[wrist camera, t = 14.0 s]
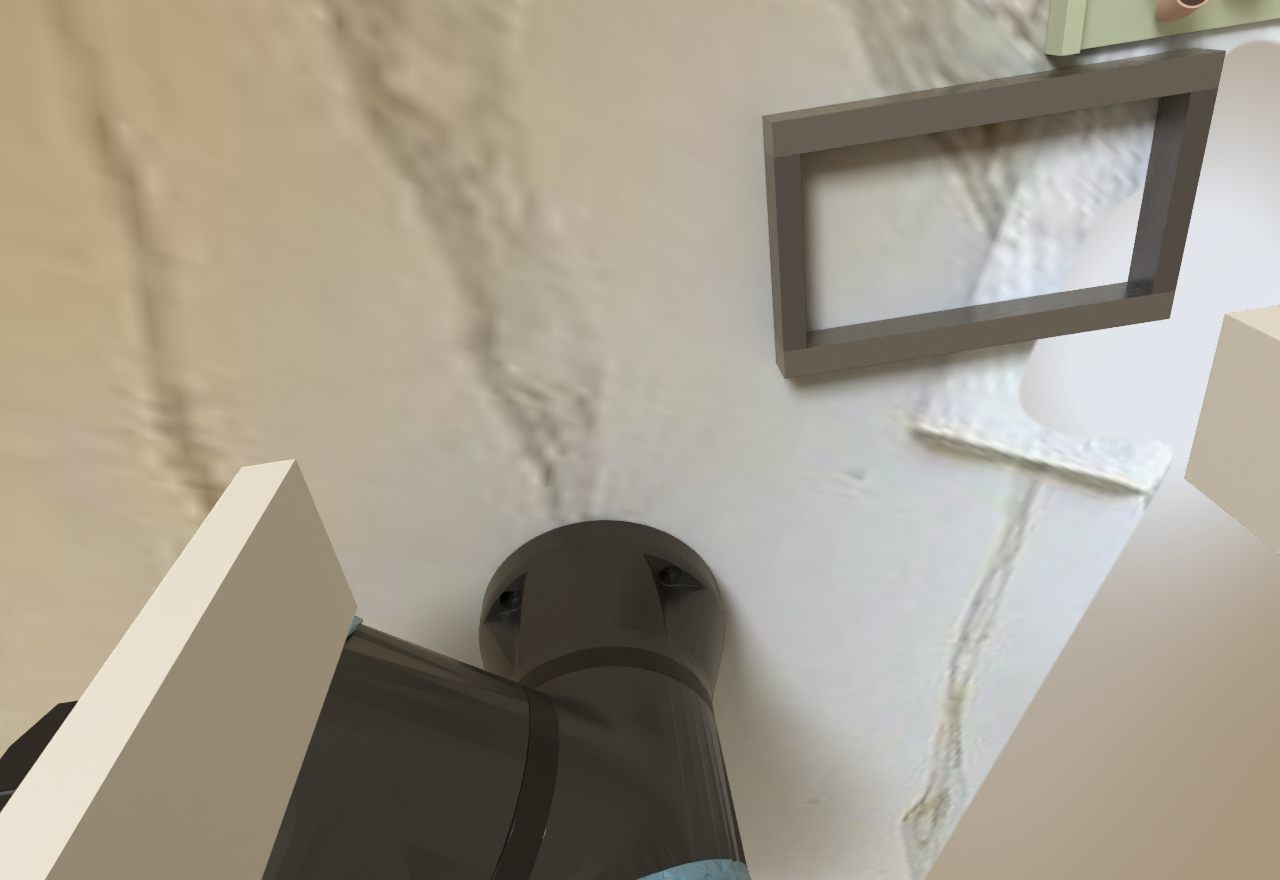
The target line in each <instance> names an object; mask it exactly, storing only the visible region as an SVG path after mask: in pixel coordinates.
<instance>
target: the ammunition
mask: <svg viewBox="0 0 1280 880" xmlns="http://www.w3.org/2000/svg"><path fill="white" fill-rule="evenodd" d="M1207 2H1208V0H1159V1H1158V3H1157V5H1156V9H1155V15H1156V17H1157V19H1158V20H1159V21H1161V22H1174V21H1178V20H1180V19H1183V18H1185V17H1187V16H1189V15H1190V14H1192V13H1193V12H1194V11H1196V10H1197V9H1198V8H1200V7H1201V6H1203V5H1204V4H1205V3H1207Z"/></svg>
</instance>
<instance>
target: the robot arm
mask: <svg viewBox="0 0 1280 880" xmlns="http://www.w3.org/2000/svg"><path fill="white" fill-rule="evenodd" d="M1184 479H1185V480H1187V481H1188V482H1189V483H1191V484H1192V485H1193V486H1194V487H1196V488H1197V489H1198V490H1200V491H1201V492H1202V493H1203V494H1204V495H1206V496H1207V497H1208V498H1210V499H1211V500H1212V501H1213V502H1214V503H1216V504H1217V505H1218V506H1219V507H1221V508H1222V509H1223V510H1224V511H1226V512H1227V513H1228V514H1229V515H1231V516H1232V517H1233V518H1234V519H1236V520H1237V521H1238V522H1239V523H1241V524H1242V525H1243V526H1244V527H1246V528H1247V529H1248V530H1249V531H1251V532H1252V533H1253V534H1254V535H1256V536H1257V537H1258V538H1260V539H1261V540H1262V541H1263V542H1264V543H1266V544H1267V545H1268V546H1269V547H1271V548H1272V549H1273V550H1275V551H1276V552H1277V553H1278V554H1280V305H1277V306H1271V307H1264V308H1258V309H1252V310H1245V311H1240V312H1232V313H1226V314H1225V316H1224V320H1223V324H1222V328H1221V332H1220V336H1219V340H1218V344H1217V348H1216V352H1215V356H1214V360H1213V364H1212V368H1211V372H1210V376H1209V380H1208V384H1207V388H1206V392H1205V397H1204V401H1203V405H1202V409H1201V413H1200V417H1199V421H1198V425H1197V429H1196V433H1195V437H1194V441H1193V445H1192V449H1191V453H1190V457H1189V461H1188V465H1187V469H1186V474H1185V478H1184ZM356 609H357V605H356V602H355V600H354V598H353V595H352V593H351V590H350V588H349V586H348V583H347V581H346V578H345V576H344V574H343V571H342V569H341V566H340V564H339V562H338V559H337V557H336V554H335V552H334V550H333V547H332V545H331V542H330V540H329V538H328V535H327V533H326V530H325V528H324V526H323V523H322V521H321V518H320V516H319V514H318V511H317V509H316V506H315V504H314V502H313V499H312V497H311V494H310V492H309V490H308V487H307V485H306V482H305V480H304V478H303V475H302V473H301V470H300V468H299V466H298V463H297V461H296V459H291V460H285V461H278V462H272V463H265V464H259V465H253V466H246V467H241V469H240V470H239V472H238V473H237V475H236V476H235V478H234V479H233V480H232V482H231V483H230V485H229V486H228V488H227V489H226V490H225V492H224V493H223V495H222V496H221V498H220V499H219V500H218V502H217V503H216V505H215V506H214V508H213V509H212V510H211V512H210V513H209V515H208V516H207V518H206V519H205V520H204V522H203V523H202V525H201V526H200V528H199V529H198V530H197V532H196V533H195V535H194V536H193V538H192V539H191V541H190V542H189V543H188V545H187V546H186V548H185V549H184V551H183V552H182V553H181V555H180V556H179V558H178V559H177V561H176V562H175V563H174V565H173V566H172V568H171V569H170V571H169V572H168V573H167V575H166V576H165V578H164V579H163V581H162V582H161V583H160V585H159V586H158V588H157V589H156V591H155V592H154V593H153V595H152V596H151V598H150V599H149V601H148V602H147V604H146V605H145V606H144V608H143V609H142V611H141V612H140V614H139V615H138V616H137V618H136V619H135V621H134V622H133V624H132V625H131V626H130V628H129V629H128V631H127V632H126V634H125V635H124V636H123V638H122V639H121V641H120V642H119V644H118V645H117V646H116V648H115V649H114V651H113V652H112V654H111V655H110V656H109V658H108V659H107V661H106V662H105V664H104V665H103V667H102V668H101V669H100V671H99V672H98V674H97V675H96V677H95V678H94V679H93V681H92V682H91V684H90V685H89V687H88V688H87V689H86V691H85V692H84V694H83V695H82V697H81V698H80V699H79V701H73V702H66V703H60V704H58V705H56V706H55V707H54V708H53V709H52V710H51V711H50V712H48V713H47V714H46V715H45V716H44V717H43V718H42V719H40V720H39V721H38V722H37V723H36V724H35V725H34V726H33V727H31V728H30V729H29V730H28V731H27V732H26V733H25V734H23V735H22V736H21V737H20V738H19V739H18V740H17V741H15V742H14V743H13V744H12V745H11V746H10V747H9V748H8V750H7V751H6V752H5V754H4V755H3V756H2V758H1V759H0V880H751V879H750V875H749V871H748V870H747V865H746V861H745V856H744V851H743V847H742V842H741V837H740V833H739V828H738V823H737V819H736V814H735V809H734V805H733V800H732V796H731V791H730V786H729V782H728V777H727V772H726V768H725V763H724V758H723V754H722V749H721V744H720V740H719V735H718V730H717V726H716V722H715V717H714V711H713V706H712V700H713V695H714V690H715V685H716V680H717V676H718V671H719V666H720V661H721V656H722V651H723V647H724V640H725V618H724V612H723V608H722V604H721V600H720V595H719V591H718V588H717V585H716V582H715V579H714V577H713V575H712V573H711V572H710V570H709V568H708V567H707V565H706V564H705V563H704V561H703V560H702V559H701V558H700V557H699V556H698V555H697V554H696V553H695V552H694V551H693V550H692V549H691V548H689V547H688V546H687V545H686V544H684V543H683V542H681V541H680V540H678V539H676V538H675V537H673V536H671V535H669V534H667V533H665V532H663V531H660V530H658V529H655V528H652V527H649V526H645V525H641V524H637V523H631V522H624V521H612V520H600V521H588V522H580V523H575V524H570V525H567V526H563V527H560V528H556V529H554V530H551V531H548V532H546V533H544V534H542V535H540V536H537V537H536V538H534V539H532V540H530V541H529V542H527V543H525V544H524V545H522V546H521V547H520V548H518V549H517V550H516V551H515V552H513V553H512V554H511V555H510V556H509V557H508V558H507V559H506V560H505V561H504V562H503V563H502V565H501V566H500V567H499V568H498V570H497V571H496V573H495V574H494V576H493V577H492V579H491V581H490V583H489V585H488V587H487V590H486V593H485V596H484V600H483V606H482V613H481V620H480V627H479V645H480V653H481V657H482V661H483V664H484V667H485V670H486V671H484V670H482V669H479V668H476V667H474V666H471V665H468V664H466V663H463V662H461V661H458V660H455V659H453V658H450V657H447V656H445V655H442V654H439V653H437V652H434V651H432V650H429V649H426V648H424V647H421V646H418V645H416V644H413V643H411V642H408V641H405V640H403V639H400V638H397V637H395V636H392V635H389V634H387V633H384V632H382V631H379V630H376V629H374V628H371V627H368V626H366V625H363V624H360V623H362V621H363V619H361V618H359V617H357V616H354V615H355V612H356Z"/></svg>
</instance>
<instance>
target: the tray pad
mask: <svg viewBox="0 0 1280 880" xmlns="http://www.w3.org/2000/svg"><path fill="white" fill-rule="evenodd" d="M1158 1H1159V0H1051V4H1050V13H1049V22H1048V31H1047V41H1046V50H1045V54H1050V55H1058V56H1065V55H1071V54H1077V53H1080V50H1081V49H1087V48H1094V47H1100V46H1106V45H1113V44H1119V43H1125V42H1132V41H1138V40H1144V39H1151V38H1157V37H1163V36H1170V35H1176V34H1182V33H1189V32H1195V31H1201V30H1208V29H1214V28H1220V27H1227V26H1233V25H1239V24H1246V23H1252V22H1258V21H1265V20H1271V19H1277V18H1280V0H1208V2H1207V3H1205V4H1204V5H1203V6H1201V7H1200V8H1198V9H1197V10H1196V11H1194V12H1193V13H1192V14H1190V15H1189V16H1187V17H1185V18H1183V19H1180V20H1178V21H1174V22H1161V21H1159V20H1158V19H1157V17H1156V15H1155V9H1156V5H1157V3H1158Z"/></svg>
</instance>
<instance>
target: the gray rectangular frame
mask: <svg viewBox="0 0 1280 880" xmlns="http://www.w3.org/2000/svg"><path fill="white" fill-rule="evenodd" d="M1225 53H1226V51H1223V50H1212V49H1201V48H1191V49H1185V50H1178V51H1172V52H1166V53H1159V54H1153V55H1147V56H1140V57H1134V58H1128V59H1121V60H1115V61H1109V62H1102V63H1096V64H1090V65H1083V66H1077V67H1071V68H1064V69H1058V70H1052V71H1045V72H1039V73H1033V74H1026V75H1020V76H1014V77H1007V78H1001V79H995V80H988V81H982V82H976V83H969V84H963V85H957V86H950V87H944V88H938V89H931V90H925V91H919V92H912V93H906V94H899V95H893V96H887V97H880V98H874V99H868V100H861V101H855V102H849V103H842V104H836V105H830V106H823V107H817V108H811V109H804V110H798V111H792V112H785V113H779V114H773V115H766V116H762V117H763V135H764V153H765V171H766V188H767V206H768V224H769V242H770V260H771V278H772V296H773V314H774V332H775V350H776V363H777V365H778V367H779V369H780V371H781V373H782V374H783V376H784V378H785V379H786V378H792V377H799V376H805V375H811V374H818V373H824V372H831V371H837V370H843V369H850V368H856V367H863V366H869V365H875V364H882V363H888V362H895V361H901V360H907V359H914V358H920V357H927V356H933V355H939V354H946V353H952V352H959V351H965V350H971V349H978V348H984V347H991V346H997V345H1003V344H1010V343H1016V342H1023V341H1029V340H1035V339H1042V338H1048V337H1055V336H1060V335H1067V334H1074V333H1080V332H1086V331H1093V330H1099V329H1106V328H1112V327H1119V326H1125V325H1131V324H1137V323H1144V322H1150V321H1157V320H1163V319H1169V318H1170V314H1171V309H1172V304H1173V299H1174V294H1175V289H1176V285H1177V280H1178V275H1179V271H1180V266H1181V262H1182V257H1183V252H1184V247H1185V242H1186V238H1187V233H1188V228H1189V224H1190V219H1191V214H1192V209H1193V205H1194V200H1195V195H1196V190H1197V186H1198V181H1199V176H1200V171H1201V166H1202V162H1203V157H1204V152H1205V148H1206V143H1207V138H1208V134H1209V129H1210V124H1211V119H1212V115H1213V109H1214V104H1215V100H1216V95H1217V91H1218V86H1219V81H1220V77H1221V72H1222V67H1223V62H1224V58H1225ZM1157 97H1161V98H1160V104H1159V109H1158V115H1157V120H1156V126H1155V132H1154V137H1153V143H1152V148H1151V154H1150V160H1149V165H1148V171H1147V176H1146V182H1145V188H1144V193H1143V199H1142V205H1141V210H1140V216H1139V221H1138V227H1137V233H1136V238H1135V244H1134V249H1133V255H1132V261H1131V266H1130V273H1129V277H1128V282H1124V283H1118V284H1111V285H1105V286H1098V287H1092V288H1085V289H1079V290H1073V291H1066V292H1060V293H1054V294H1047V295H1041V296H1034V297H1028V298H1022V299H1015V300H1009V301H1002V302H996V303H990V304H983V305H977V306H970V307H964V308H958V309H951V310H945V311H938V312H932V313H926V314H919V315H913V316H907V317H900V318H894V319H887V320H881V321H875V322H868V323H862V324H855V325H849V326H843V327H836V328H830V329H823V330H817V331H811V332H806V306H805V276H804V247H803V218H802V188H801V159H800V154H802V153H808V152H814V151H821V150H827V149H833V148H840V147H846V146H852V145H859V144H865V143H871V142H878V141H884V140H890V139H897V138H903V137H910V136H916V135H922V134H929V133H935V132H941V131H948V130H954V129H960V128H967V127H973V126H979V125H986V124H992V123H998V122H1005V121H1011V120H1017V119H1024V118H1030V117H1036V116H1043V115H1049V114H1056V113H1062V112H1068V111H1075V110H1081V109H1087V108H1094V107H1100V106H1106V105H1113V104H1119V103H1125V102H1132V101H1138V100H1144V99H1151V98H1157Z"/></svg>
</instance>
